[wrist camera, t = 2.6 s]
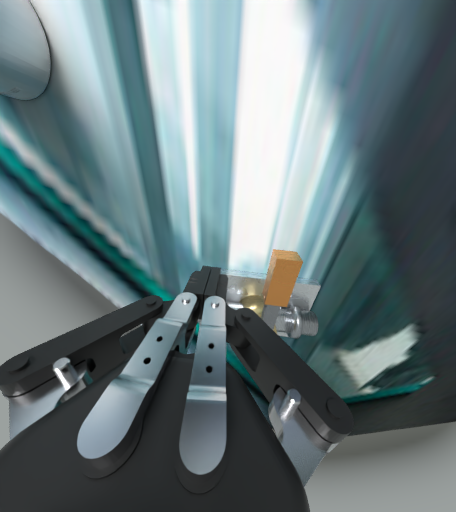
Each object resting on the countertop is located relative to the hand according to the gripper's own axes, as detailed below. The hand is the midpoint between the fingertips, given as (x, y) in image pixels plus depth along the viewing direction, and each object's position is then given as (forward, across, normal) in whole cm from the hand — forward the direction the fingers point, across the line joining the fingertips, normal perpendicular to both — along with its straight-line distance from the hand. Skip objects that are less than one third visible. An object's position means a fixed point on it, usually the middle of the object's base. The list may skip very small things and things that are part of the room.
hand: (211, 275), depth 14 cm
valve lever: (+3, -6, +6) cm, 9 cm away
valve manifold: (+11, -6, +12) cm, 18 cm away
